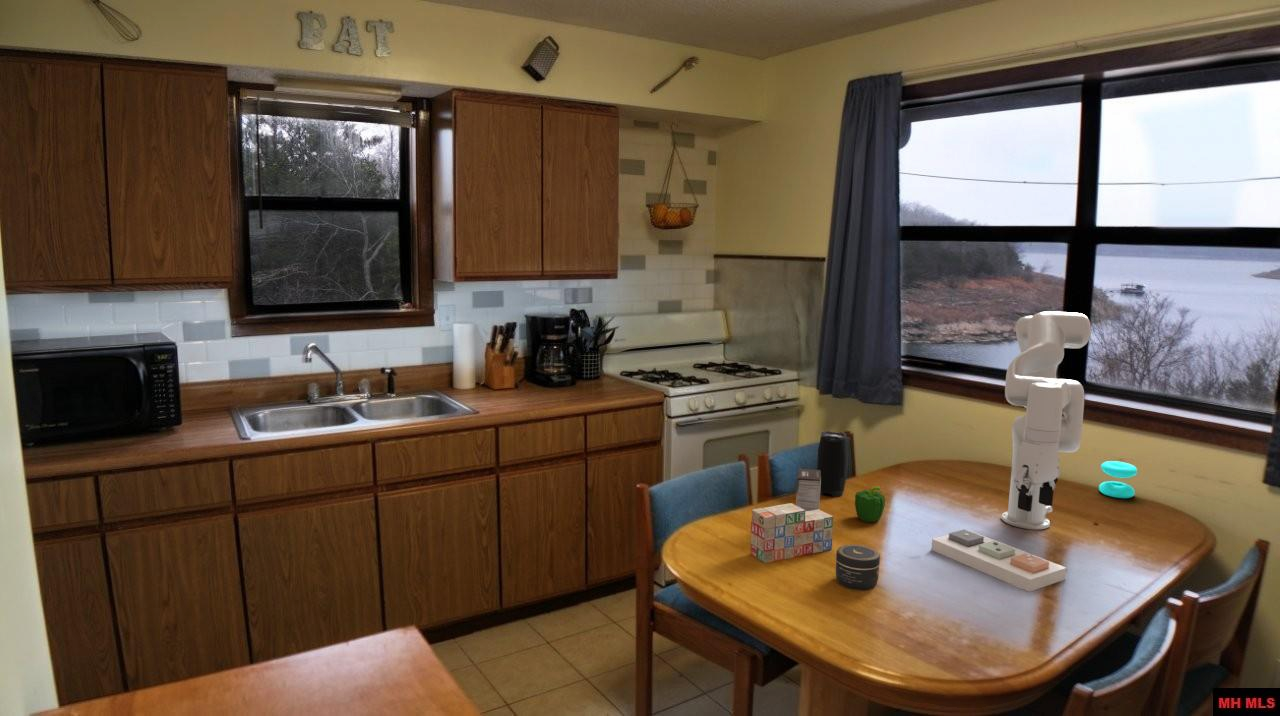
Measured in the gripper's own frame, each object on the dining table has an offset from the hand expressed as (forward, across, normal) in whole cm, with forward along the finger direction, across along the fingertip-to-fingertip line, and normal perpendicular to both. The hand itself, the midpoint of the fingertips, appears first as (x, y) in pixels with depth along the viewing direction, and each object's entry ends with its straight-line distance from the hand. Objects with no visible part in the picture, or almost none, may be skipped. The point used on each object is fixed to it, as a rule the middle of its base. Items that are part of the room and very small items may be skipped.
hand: (1034, 506), depth 189 cm
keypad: (+18, 0, -9) cm, 20 cm away
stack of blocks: (+18, +41, -39) cm, 59 cm away
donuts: (+18, -84, -26) cm, 90 cm away
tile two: (+16, 0, -9) cm, 18 cm away
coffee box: (+18, +26, -50) cm, 59 cm away
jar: (+18, +39, -18) cm, 47 cm away
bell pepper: (+18, +5, -47) cm, 51 cm away
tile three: (+16, 0, 0) cm, 16 cm away
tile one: (+16, 0, -18) cm, 24 cm away
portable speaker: (+18, -2, -70) cm, 72 cm away
